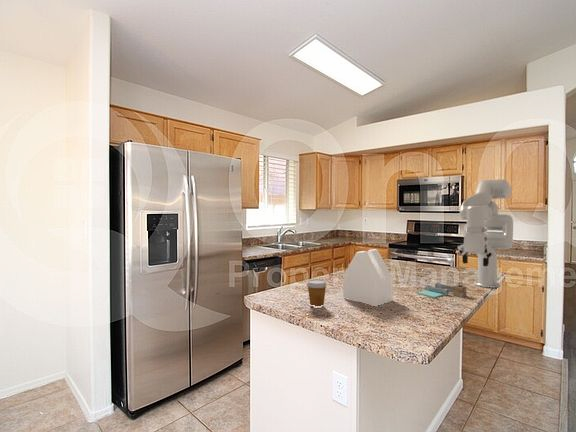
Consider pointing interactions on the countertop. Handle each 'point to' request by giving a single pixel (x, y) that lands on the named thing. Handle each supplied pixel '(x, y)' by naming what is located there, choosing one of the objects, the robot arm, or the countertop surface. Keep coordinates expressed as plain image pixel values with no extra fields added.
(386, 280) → the milk carton
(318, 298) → the disposable coffee cup
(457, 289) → the wooden knob block
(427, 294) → the pad
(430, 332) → the countertop surface
